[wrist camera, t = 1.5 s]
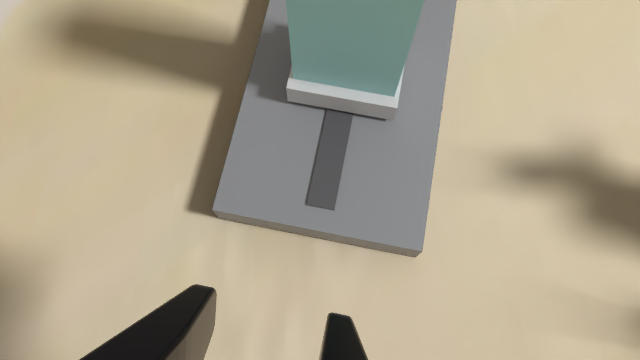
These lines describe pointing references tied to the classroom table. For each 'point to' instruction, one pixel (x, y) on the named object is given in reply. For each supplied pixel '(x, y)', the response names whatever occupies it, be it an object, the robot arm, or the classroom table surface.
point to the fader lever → (350, 53)
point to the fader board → (338, 148)
